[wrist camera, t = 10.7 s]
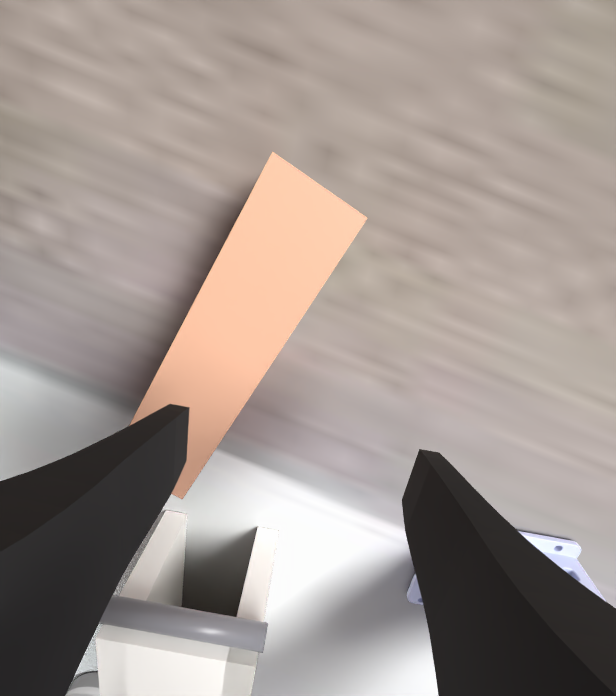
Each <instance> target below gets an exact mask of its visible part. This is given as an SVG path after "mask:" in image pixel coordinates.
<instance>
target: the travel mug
mask: <svg viewBox="0 0 616 696" xmlns="http://www.w3.org/2000/svg"><path fill="white" fill-rule="evenodd" d="M66 696H100V690H99V678H98V672H91V673H86V674H83V675H81V676H79V677H78V678H76V679H75V680H74V681H73V683H72V685H71V687H70V688H69V690H68V692H67V694H66Z"/></svg>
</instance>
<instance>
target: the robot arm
mask: <svg viewBox="0 0 616 696" xmlns="http://www.w3.org/2000/svg"><path fill="white" fill-rule="evenodd" d="M189 408H190V407H185V406H180V405H174V404H169V405H167V406H165V407H163V408H161V409H159V410H157V411H155V412H154V413H152V414H150V415H148V416H146V417H145V418H143V419H141V420H139V421H137V422H136V423H134V424H132V425H130V426H128V427H126V428H124V429H123V430H121V431H119V432H117V433H115V434H113V435H111V436H109V437H107V438H105V439H103V440H101V441H99V442H97V443H95V444H93V445H91V446H89V447H87V448H85V449H82V450H80V451H78V452H76V453H74V454H72V455H69V456H67V457H65V458H62V459H60V460H58V461H55V462H53V463H50V464H47V465H45V466H42V467H40V468H37V469H35V470H32V471H29V472H27V473H24V474H21V475H18V476H15V477H12V478H9V479H6V480H3V481H0V696H65V695H66V693H67V691H68V688H69V686H70V684H71V682H72V680H73V677H74V675H75V673H76V671H77V669H78V666H79V664H80V662H81V660H82V658H83V655H84V653H85V651H86V649H87V647H88V645H89V643H90V641H91V639H92V636H93V634H94V632H95V630H96V628H97V626H98V624H99V622H100V620H101V617H102V615H103V613H104V611H105V609H106V607H107V605H108V603H109V601H110V599H111V597H112V595H113V593H114V591H115V589H116V587H117V585H118V583H119V581H120V579H121V577H122V575H123V573H124V571H125V570H126V568H127V566H128V564H129V563H130V561H131V559H132V557H133V556H134V554H135V552H136V551H137V549H138V548H139V546H140V544H141V543H142V541H143V539H144V538H145V536H146V535H147V533H148V531H149V530H150V528H151V526H152V525H153V523H154V521H155V520H156V518H157V517H158V515H159V513H160V512H161V510H162V508H163V507H164V505H165V503H166V502H167V500H168V498H169V497H170V495H171V493H172V492H173V490H174V488H175V486H176V483H177V481H178V479H179V477H180V475H181V472H182V470H183V468H184V466H185V463H186V461H187V444H188V426H189ZM402 506H403V515H404V524H405V531H406V536H407V541H408V545H409V549H410V553H411V557H412V561H413V565H414V569H415V574H414V577H413V579H412V582H411V584H410V587H409V589H408V592H407V599H408V601H409V602H411V603H415V604H420V605H424V609H425V614H426V618H427V623H428V628H429V633H430V639H431V646H432V652H433V659H434V665H435V672H436V679H437V686H438V694H439V696H616V608H614V607H613V606H611V605H610V604H608V603H607V602H606V600H605V599H604V597H603V596H602V594H601V593H600V592H599V590H598V589H597V587H596V586H595V584H594V583H593V582H592V580H591V579H590V577H589V576H588V574H587V573H586V572H585V570H584V569H583V567H582V566H581V564H580V563H579V562H578V560H577V557H578V555H579V554H580V552H581V547H580V546H579V545H578V543H577V542H575V541H570V540H565V539H559V538H554V537H548V536H543V535H537V534H532V533H526V532H521V531H517V530H516V529H515V528H514V527H513V526H512V525H511V524H510V523H509V522H508V521H506V520H505V519H504V518H503V517H502V516H501V515H500V514H499V513H498V512H497V511H496V510H495V509H494V508H493V507H492V506H491V505H490V504H489V503H488V502H487V501H486V500H485V499H484V498H483V497H482V496H481V495H480V494H479V493H478V492H477V491H476V490H475V489H474V488H473V487H472V486H471V485H470V484H469V483H468V482H467V480H466V479H465V478H464V477H463V476H462V475H461V474H460V473H459V472H458V471H457V470H456V469H455V468H454V467H453V466H452V465H451V464H450V463H449V462H448V461H447V460H446V459H445V458H444V457H443V456H442V455H441V454H440V453H438V452H432V451H427V450H421V449H419V452H418V455H417V458H416V461H415V464H414V467H413V469H412V472H411V475H410V478H409V481H408V484H407V487H406V490H405V493H404V495H403V498H402Z"/></svg>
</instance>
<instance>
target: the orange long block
mask: <svg viewBox="0 0 616 696" xmlns="http://www.w3.org/2000/svg"><path fill="white" fill-rule="evenodd" d="M366 220H367V217H365V216H364V215H363V214H361V213H360V212H358V211H357V210H355V209H354V208H352V207H351V206H350V205H348V204H347V203H345V202H344V201H342V200H341V199H340V198H338V197H337V196H335V195H334V194H332V193H331V192H330V191H328V190H327V189H325V188H324V187H322V186H321V185H320V184H318V183H317V182H315V181H314V180H312V179H311V178H310V177H308V176H307V175H305V174H304V173H302V172H301V171H299V170H298V169H297V168H295V167H294V166H292V165H291V164H289V163H288V162H287V161H285V160H284V159H282V158H281V157H279V156H278V155H277V154H275V153H274V152H272V154H271V156H270V158H269V159H268V161H267V163H266V165H265V167H264V169H263V171H262V173H261V175H260V177H259V179H258V181H257V182H256V184H255V186H254V188H253V190H252V192H251V194H250V196H249V198H248V200H247V202H246V203H245V205H244V207H243V209H242V211H241V213H240V215H239V217H238V219H237V221H236V223H235V224H234V226H233V228H232V230H231V232H230V234H229V236H228V238H227V240H226V242H225V244H224V246H223V247H222V249H221V251H220V253H219V255H218V257H217V259H216V261H215V263H214V265H213V267H212V268H211V270H210V272H209V274H208V276H207V278H206V280H205V282H204V284H203V286H202V288H201V289H200V291H199V293H198V295H197V297H196V299H195V301H194V303H193V305H192V307H191V309H190V310H189V312H188V314H187V316H186V318H185V320H184V322H183V324H182V326H181V328H180V330H179V332H178V333H177V335H176V337H175V339H174V341H173V343H172V345H171V347H170V349H169V351H168V353H167V354H166V356H165V358H164V360H163V362H162V364H161V366H160V368H159V370H158V372H157V374H156V375H155V377H154V379H153V381H152V383H151V385H150V387H149V389H148V391H147V393H146V395H145V397H144V398H143V400H142V402H141V404H140V406H139V408H138V410H137V412H136V414H135V416H134V418H133V419H132V421H131V423H130V425H132V424H134V423H136V422H137V421H139V420H141V419H143V418H145V417H146V416H148V415H150V414H152V413H154V412H155V411H157V410H159V409H161V408H163V407H165V406H167V405H169V404H174V405H180V406H185V407H190V408H189V426H188V444H187V461H186V463H185V466H184V468H183V470H182V472H181V475H180V477H179V479H178V481H177V483H176V486H175V488H174V490H173V492H172V493H171V494H173V495H175V496H177V497H179V498H181V499H183V498H184V496H185V495H186V493H187V491H188V490H189V488H190V487H191V485H192V484H193V482H194V481H195V479H196V478H197V476H198V475H199V473H200V472H201V470H202V469H203V467H204V466H205V464H206V463H207V461H208V460H209V458H210V457H211V455H212V453H213V452H214V450H215V449H216V447H217V446H218V444H219V443H220V441H221V440H222V438H223V437H224V435H225V434H226V432H227V431H228V429H229V428H230V426H231V425H232V423H233V422H234V420H235V419H236V417H237V416H238V414H239V412H240V411H241V409H242V408H243V406H244V405H245V403H246V402H247V400H248V399H249V397H250V396H251V394H252V393H253V391H254V390H255V388H256V387H257V385H258V384H259V382H260V381H261V379H262V378H263V376H264V375H265V373H266V371H267V370H268V368H269V367H270V365H271V364H272V362H273V361H274V359H275V358H276V356H277V355H278V353H279V352H280V350H281V349H282V347H283V346H284V344H285V343H286V341H287V340H288V338H289V337H290V335H291V334H292V332H293V330H294V329H295V327H296V326H297V324H298V323H299V321H300V320H301V318H302V317H303V315H304V314H305V312H306V311H307V309H308V308H309V306H310V305H311V303H312V302H313V300H314V299H315V297H316V296H317V294H318V293H319V291H320V289H321V288H322V286H323V285H324V283H325V282H326V280H327V279H328V277H329V276H330V274H331V273H332V271H333V270H334V268H335V267H336V265H337V264H338V262H339V261H340V259H341V258H342V256H343V255H344V253H345V251H346V250H347V248H348V247H349V245H350V244H351V242H352V241H353V239H354V238H355V236H356V235H357V233H358V232H359V230H360V229H361V227H362V226H363V224H364V223H365V221H366ZM130 425H129V426H130Z"/></svg>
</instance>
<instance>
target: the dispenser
mask: <svg viewBox="0 0 616 696" xmlns="http://www.w3.org/2000/svg"><path fill="white" fill-rule="evenodd" d="M186 528H187V514H185V513H179V512H174V511H168V510H166V511H165V513H164V515H163V517H162V519H161V520H160V522H159V524H158V526H157V528H156V529H155V531H154V533H153V535H152V537H151V538H150V540H149V542H148V544H147V546H146V547H145V549H144V551H143V553H142V555H141V556H140V558H139V560H138V562H137V564H136V566H135V567H134V569H133V571H132V573H131V575H130V576H129V578H128V580H127V582H126V584H125V585H124V587H123V589H122V591H121V593H120V594H119V596H117V595H112V597H111V599H110V601H109V603H108V605H107V607H106V609H105V611H104V613H103V615H102V617H101V620H100V622H99V623H100V624H103V625H102V627H101V629H100V631H99V632H98V634H97V636H96V638H95V640H96V652H97V665H98V678H99V690H100V696H251V691H252V686H253V681H254V676H255V671H256V666H257V660H258V654H259V652H261V653H263V650H264V644H265V638H266V632H267V626H268V623H266V622H264V618H265V612H266V606H267V600H268V594H269V587H270V581H271V575H272V569H273V563H274V557H275V551H276V545H277V539H278V533H279V531H278V530H273V529H267V528H262V527H258V528H257V532H256V537H255V541H254V545H253V549H252V554H251V558H250V562H249V566H248V571H247V575H246V579H245V583H244V588H243V592H242V596H241V600H240V605H239V609H238V613H237V617H233V616H228V615H222V614H217V613H211V612H205V611H200V610H194V609H189V608H183V607H182V594H183V578H184V561H185V544H186Z"/></svg>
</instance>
